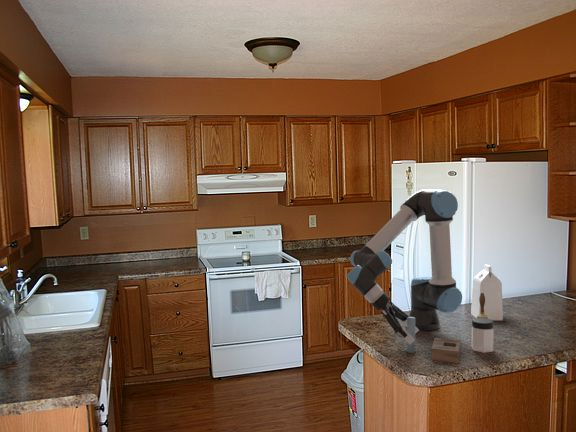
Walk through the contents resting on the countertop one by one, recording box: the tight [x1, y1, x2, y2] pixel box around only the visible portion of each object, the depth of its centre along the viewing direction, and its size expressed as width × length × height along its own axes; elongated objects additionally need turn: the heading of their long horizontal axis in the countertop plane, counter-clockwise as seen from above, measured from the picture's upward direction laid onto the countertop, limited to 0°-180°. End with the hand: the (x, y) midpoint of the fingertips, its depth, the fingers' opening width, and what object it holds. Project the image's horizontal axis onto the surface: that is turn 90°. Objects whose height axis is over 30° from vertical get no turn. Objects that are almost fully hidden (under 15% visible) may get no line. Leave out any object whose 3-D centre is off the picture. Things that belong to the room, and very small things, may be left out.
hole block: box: [431, 337, 461, 364], centre depth 206 cm, size 14×10×4 cm
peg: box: [406, 317, 416, 354], centre depth 211 cm, size 3×3×14 cm
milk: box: [470, 263, 504, 321], centre depth 259 cm, size 12×12×26 cm
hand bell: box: [477, 293, 488, 319], centre depth 243 cm, size 8×8×16 cm
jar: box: [470, 317, 494, 353], centre depth 213 cm, size 9×8×12 cm
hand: (414, 337), depth 210 cm, fingers open, 13 cm apart
